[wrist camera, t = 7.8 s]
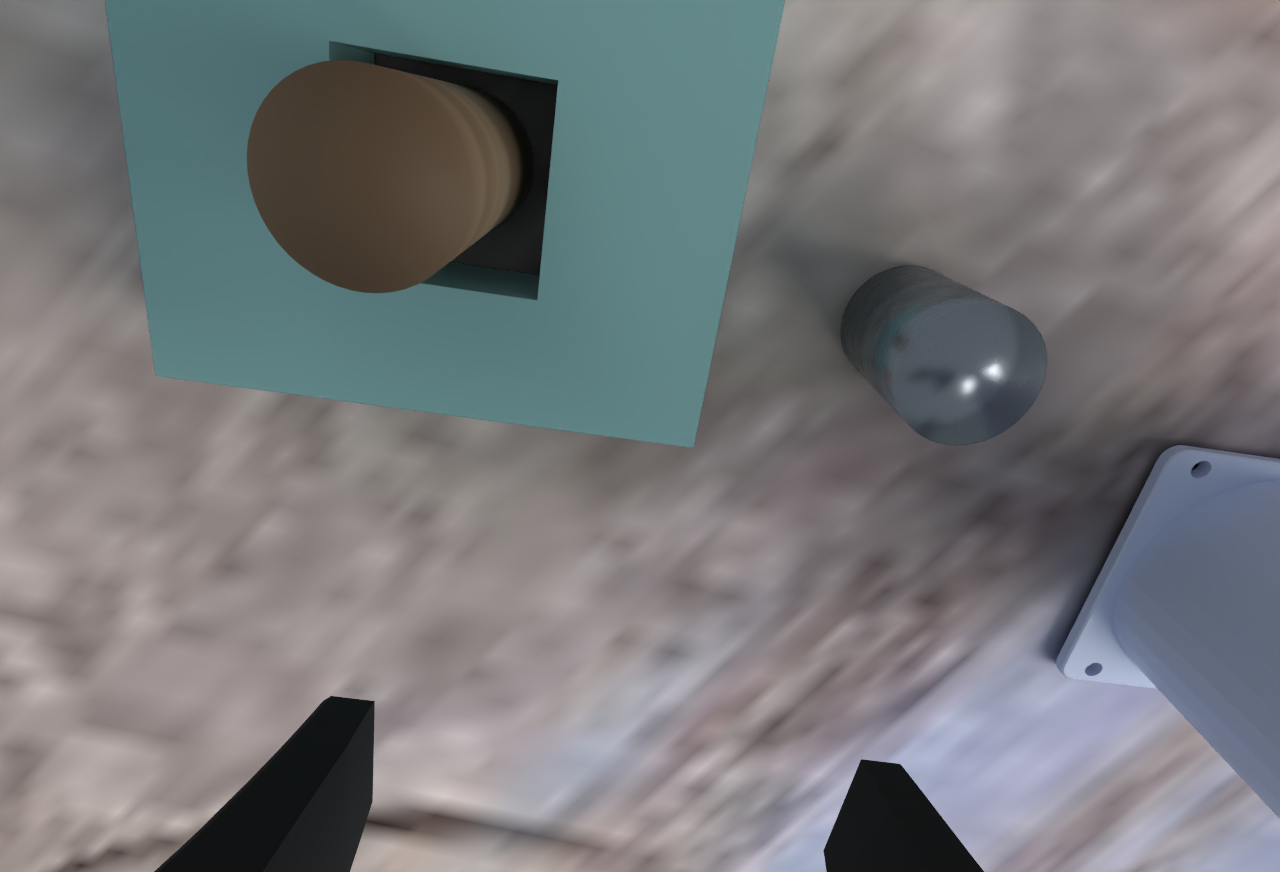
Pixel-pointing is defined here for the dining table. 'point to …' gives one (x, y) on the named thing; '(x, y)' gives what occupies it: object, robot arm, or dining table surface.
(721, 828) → the dining table surface
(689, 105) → the hole block
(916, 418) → the metal stub
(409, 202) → the walnut dowel
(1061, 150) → the dining table surface
